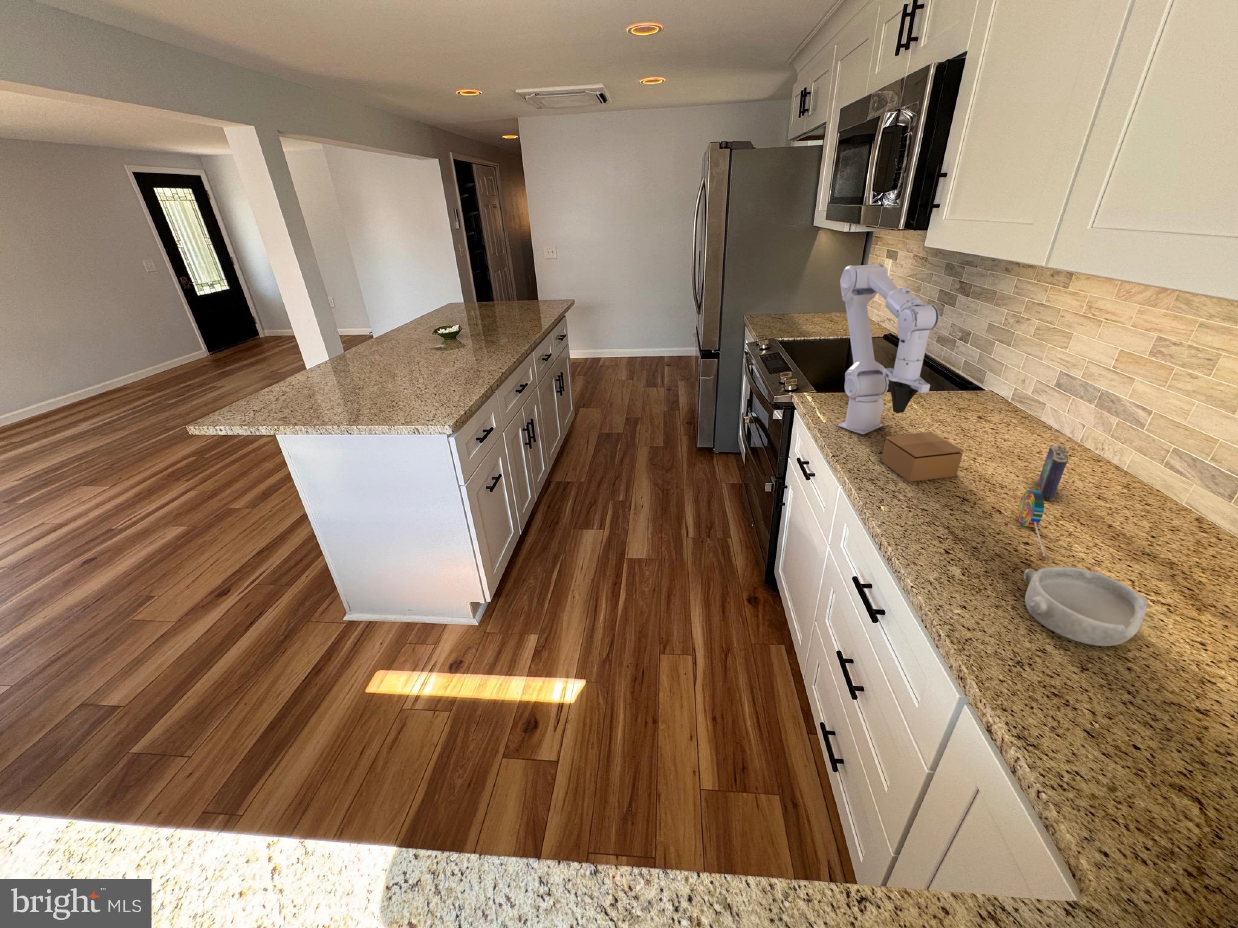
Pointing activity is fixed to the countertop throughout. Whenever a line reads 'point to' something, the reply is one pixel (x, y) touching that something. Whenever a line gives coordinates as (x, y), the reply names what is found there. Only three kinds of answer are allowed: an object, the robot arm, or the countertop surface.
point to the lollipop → (1031, 510)
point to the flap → (914, 438)
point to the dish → (1084, 605)
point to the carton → (923, 460)
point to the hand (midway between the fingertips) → (898, 412)
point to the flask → (1052, 471)
